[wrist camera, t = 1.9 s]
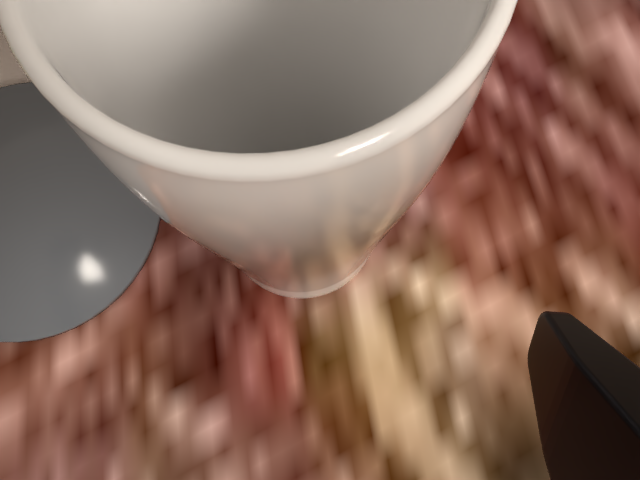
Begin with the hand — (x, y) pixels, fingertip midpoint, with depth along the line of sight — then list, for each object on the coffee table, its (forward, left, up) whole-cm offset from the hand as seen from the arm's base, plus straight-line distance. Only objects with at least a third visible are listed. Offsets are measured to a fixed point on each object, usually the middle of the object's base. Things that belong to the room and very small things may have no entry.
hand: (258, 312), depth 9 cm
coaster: (-1, +11, -11) cm, 16 cm away
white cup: (+4, +2, -12) cm, 12 cm away
